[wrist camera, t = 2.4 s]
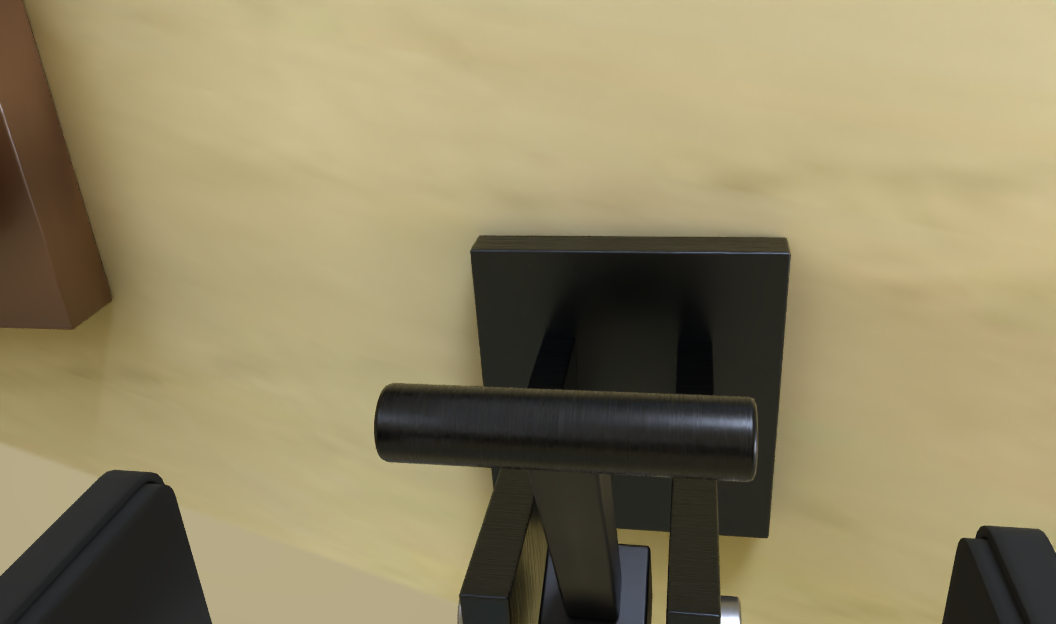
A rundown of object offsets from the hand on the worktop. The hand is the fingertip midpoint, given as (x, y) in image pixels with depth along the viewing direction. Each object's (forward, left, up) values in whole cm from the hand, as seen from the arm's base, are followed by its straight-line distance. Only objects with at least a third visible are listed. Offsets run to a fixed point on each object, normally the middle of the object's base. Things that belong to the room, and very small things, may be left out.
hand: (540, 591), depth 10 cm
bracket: (+7, 0, -16) cm, 18 cm away
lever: (+3, 0, -6) cm, 7 cm away
